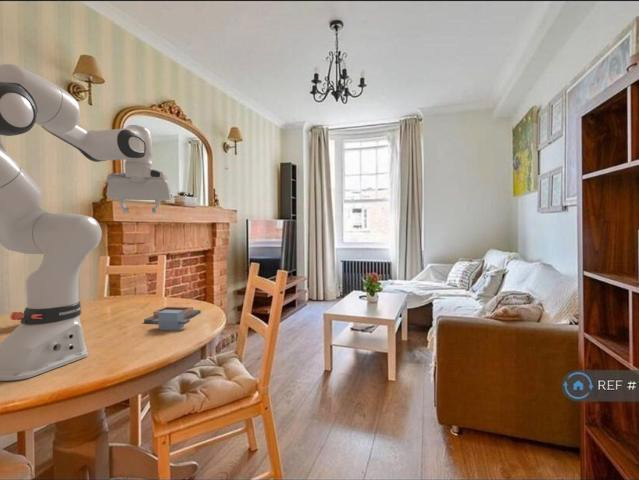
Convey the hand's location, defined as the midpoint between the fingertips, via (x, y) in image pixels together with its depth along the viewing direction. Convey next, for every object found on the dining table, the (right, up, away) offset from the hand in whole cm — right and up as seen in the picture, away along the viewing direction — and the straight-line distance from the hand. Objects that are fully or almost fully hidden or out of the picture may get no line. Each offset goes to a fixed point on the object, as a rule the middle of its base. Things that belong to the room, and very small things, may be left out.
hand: (140, 212), depth 120 cm
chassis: (+7, -40, +12) cm, 42 cm away
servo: (+12, -41, -2) cm, 43 cm away
